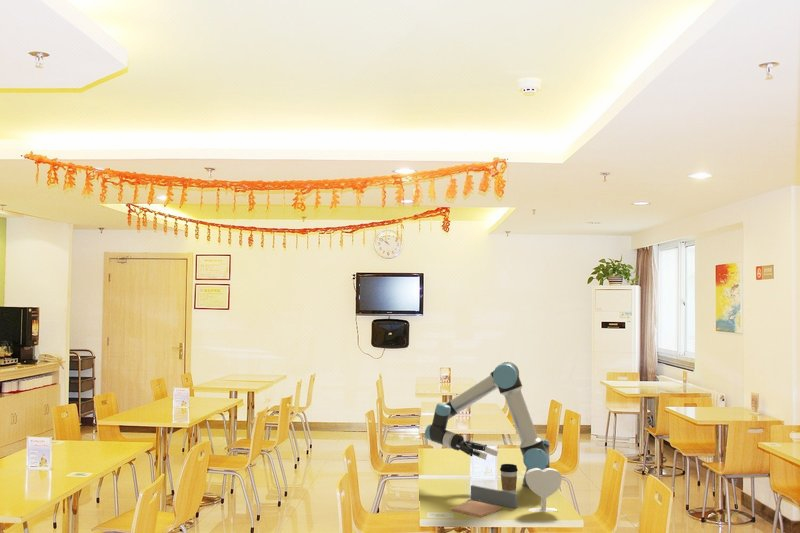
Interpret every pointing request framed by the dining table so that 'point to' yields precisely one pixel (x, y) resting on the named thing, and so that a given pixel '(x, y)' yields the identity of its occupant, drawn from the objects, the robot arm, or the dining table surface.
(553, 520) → the dining table surface
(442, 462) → the dining table surface
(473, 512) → the terracotta tile
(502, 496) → the gray rectangular board
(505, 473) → the coffee cup
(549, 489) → the heart sculpture
